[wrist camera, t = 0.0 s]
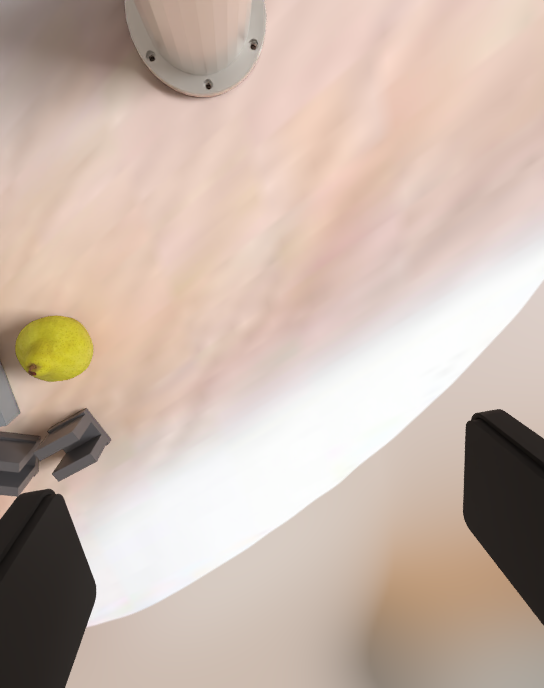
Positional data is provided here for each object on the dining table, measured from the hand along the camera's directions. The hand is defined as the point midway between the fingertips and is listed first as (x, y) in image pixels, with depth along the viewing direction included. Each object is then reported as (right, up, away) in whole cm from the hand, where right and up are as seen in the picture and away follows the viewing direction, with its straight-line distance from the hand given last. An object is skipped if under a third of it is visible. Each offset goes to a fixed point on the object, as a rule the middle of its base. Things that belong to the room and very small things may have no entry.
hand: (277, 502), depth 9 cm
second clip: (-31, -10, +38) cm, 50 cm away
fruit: (-23, +4, +35) cm, 42 cm away
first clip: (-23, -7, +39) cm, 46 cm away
